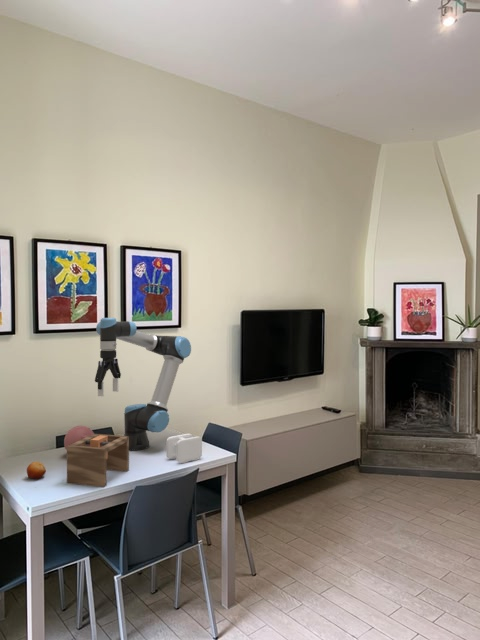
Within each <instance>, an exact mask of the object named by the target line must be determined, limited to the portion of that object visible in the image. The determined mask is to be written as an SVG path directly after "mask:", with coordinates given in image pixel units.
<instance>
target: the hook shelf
mask: <svg viewBox="0 0 480 640" xmlns="http://www.w3.org/2000/svg"><path fill="white" fill-rule="evenodd" d="M99 435H103V436H108V442H105V441H103V442H101V443H100V446H102V447H101V448H98V447H87V446H85V445H90V440H91V439H93V438H95V437H97V436H99ZM107 452H108V459H106V453H107ZM107 470H108V471H115V472H116V471H117V472H125V473H126V472H129V471H130V450H129V436H124V435H115V434H104V433H94V434H93V435H91V436H88V437H86V438H84V439H82V440H80V441H77V442H75V443H73V444H71V445H69V446H67V450H66V483H67V484H74V485H84V486H92V487H100V488H104V487H105V488H106V486H107V484H108V483H107Z"/></svg>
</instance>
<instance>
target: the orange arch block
mask: <svg viewBox="0 0 480 640" xmlns="http://www.w3.org/2000/svg"><path fill="white" fill-rule="evenodd" d="M103 441H105V442H108V436H103V435H99V436H97V437H95V438H93V439H91V440H90V447H98V448H101V447H102V446H100V443H101V442H103ZM106 459H108V452H107V453H106Z"/></svg>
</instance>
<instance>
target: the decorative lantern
mask: <svg viewBox="0 0 480 640" xmlns="http://www.w3.org/2000/svg"><path fill="white" fill-rule="evenodd" d="M93 434H95V432H94V431H93V430H92V429H91V428H90V427H88V426H85V425H77V426H73V427H72V428H70V429H69V430H68V431H67V433H65V436H64V439H63V445H64V449H65V451H67V446H69V445H71V444H73V443H75V442H77V441H80V440H82V439H84V438H86V437H88V436H91V435H93ZM85 446H87V447H90V445H85Z"/></svg>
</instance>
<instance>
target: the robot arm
mask: <svg viewBox="0 0 480 640" xmlns="http://www.w3.org/2000/svg"><path fill="white" fill-rule="evenodd" d="M95 331H96V333H97V334H98V335H99V343H100V344H99V350H100V351H99V353H100V354H99V356H100V357H99V358H100V359H102V360H99V361H98V362H97V364H98V365H97V369H96V372H95V373H96V374H95V378H94V382H95V383H97V397H104V396H105V394H104V393H105V391H104V390H105V389H104V388H105V386H104V385H105V384H104V383H105V382H104V379H105V377H106V375H107V372H108V371H110V373H111V375H112V392H114V393H117V392H119V379H121V378H122V373H121V369H120V366H119V360H118V358H117V340H119V341H122V342H126V343H130V344H132V345H136V346H139V347H142V348H145V349H146V351H149V352H152V353H154V354H157V355H160V356H162V357H163V360H164V361H163V364H162V366H161V370H160V373H159V376H158V379H157V382H156V385H155V388H154V391H153V394H152V397H151V400H150V401H149V402H147V403H137V404H130V405H127V406H125V408H124V413H123V414H124V417H123V418H124V419H123V420H124V435H123V436H129V451H141V450H145V449H147V448H149V447H150V440H149V437H148V433H147V432H149V433H150V432H151V433H161V432H163V431H164V430H166V428H167V427H168V425H169V423H170V414H169V413H168V411H169V409H168V407H167V404H168V402H169V398H170V395H171V392H172V389H173V386H174V384H175V383H174V382H175V379H176V376H177V373H178V370H179V367H180V365H181V364H183V363H184V360H185V359H186V358H188V357H189V356H190V355H191V352H192V345H191V342H190V340H189V339H188V338H187V337H186V336H180V335H178V336H177V335H176V336H175V335H157V334H154V333H151V334H148V333H145V332H142V331H140V330H139V331H138V330H137V325H136V323H135V322H134V321H129V320H128V321H117V319H116V318H115V317H103V318H102V317H101V318H100V320H99V322H98V323H97V325H96V330H95Z"/></svg>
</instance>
